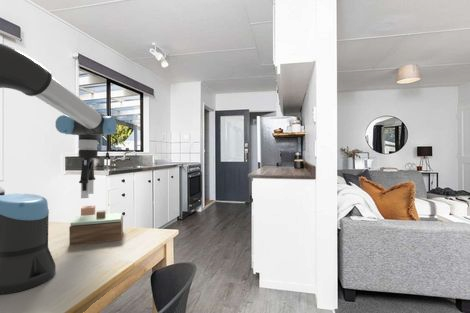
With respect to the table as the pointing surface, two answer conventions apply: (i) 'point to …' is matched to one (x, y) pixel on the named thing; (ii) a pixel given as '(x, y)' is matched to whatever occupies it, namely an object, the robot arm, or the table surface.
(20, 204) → the robot arm
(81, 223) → the lid
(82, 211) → the key block
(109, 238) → the wooden box
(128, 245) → the table surface
